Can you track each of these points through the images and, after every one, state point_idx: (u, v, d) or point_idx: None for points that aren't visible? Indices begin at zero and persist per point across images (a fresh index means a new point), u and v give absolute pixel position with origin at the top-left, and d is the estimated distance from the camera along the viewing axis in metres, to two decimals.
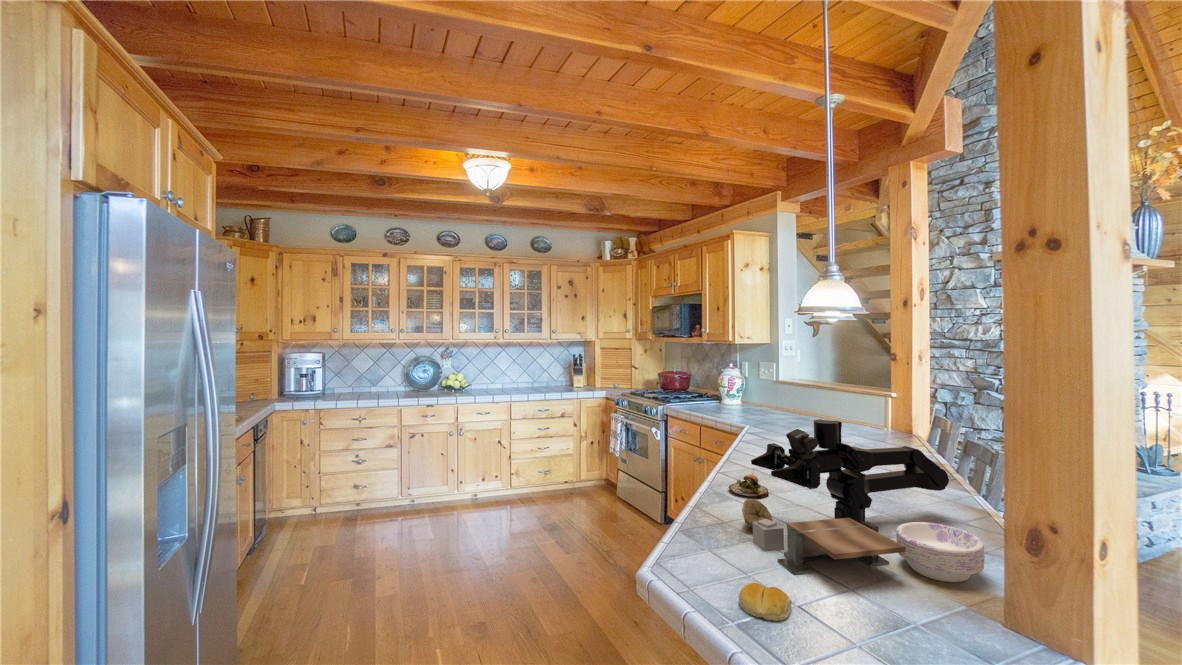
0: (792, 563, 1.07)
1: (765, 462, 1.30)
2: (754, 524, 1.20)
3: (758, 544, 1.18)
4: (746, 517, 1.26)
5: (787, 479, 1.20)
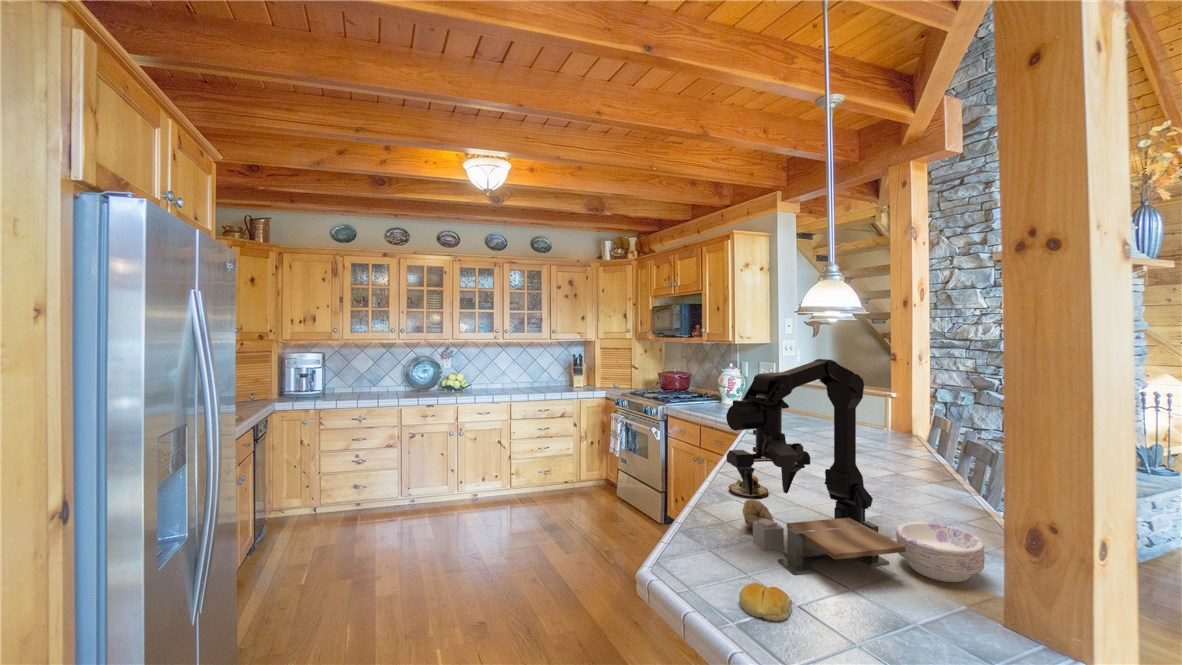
0: (792, 563, 1.07)
1: None
2: (754, 524, 1.20)
3: (758, 544, 1.18)
4: (747, 517, 1.25)
5: None
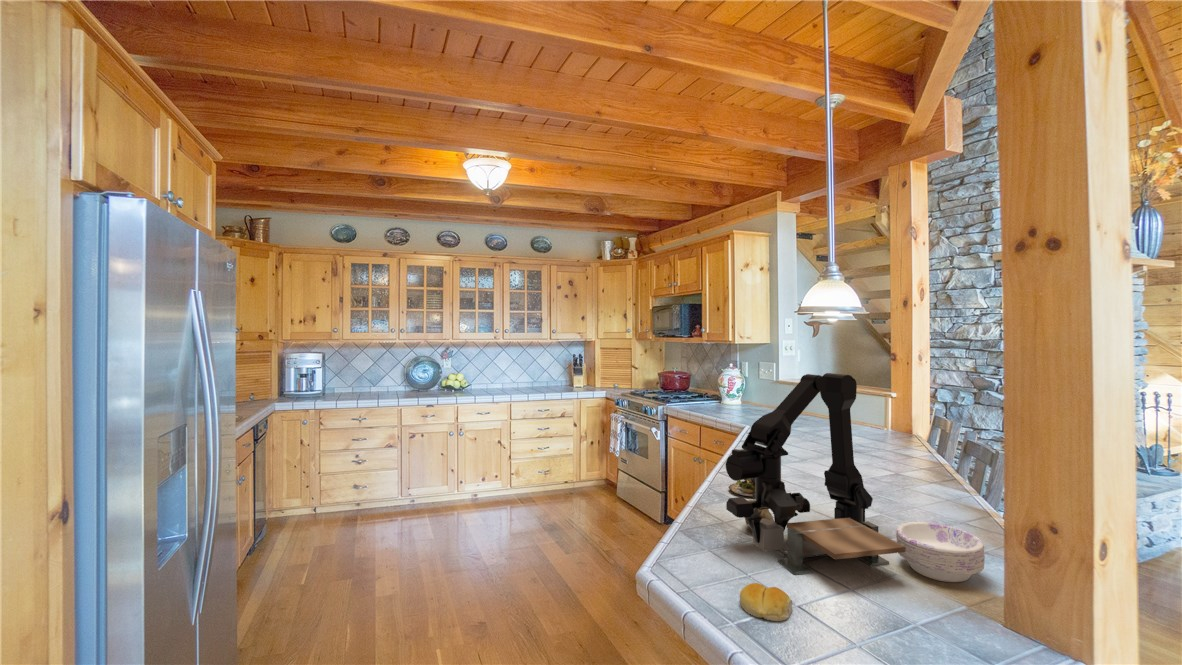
0: (792, 563, 1.07)
1: None
2: None
3: (758, 544, 1.18)
4: None
5: None
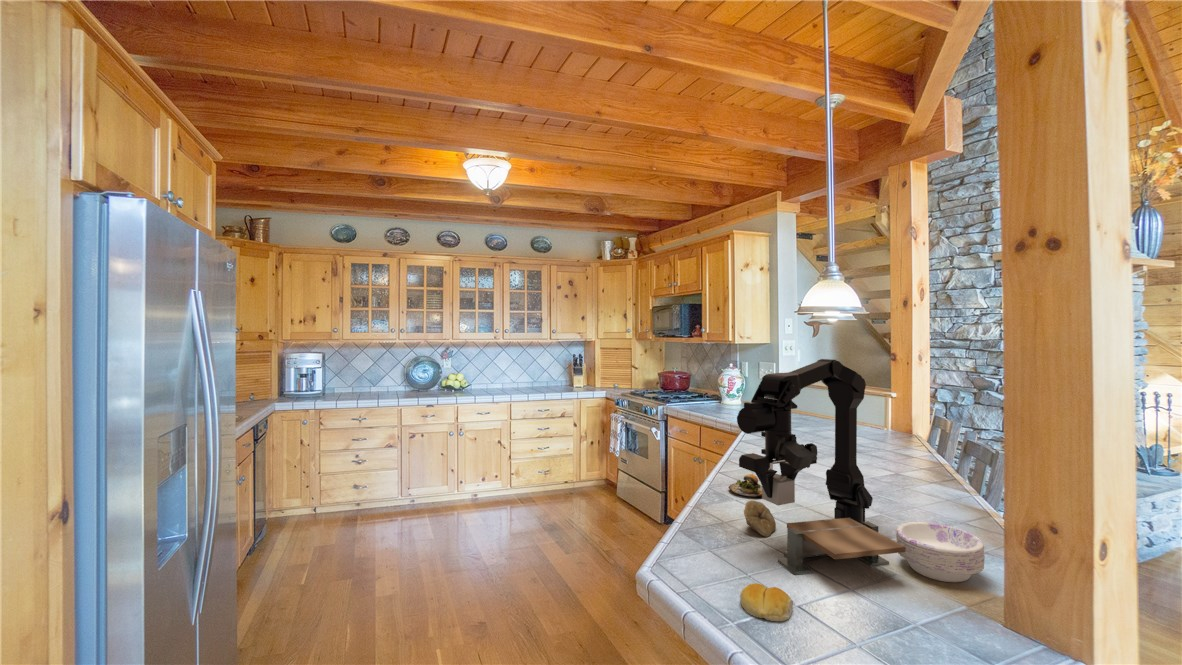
0: (792, 563, 1.07)
1: None
2: None
3: (770, 499, 1.16)
4: (748, 519, 1.25)
5: None
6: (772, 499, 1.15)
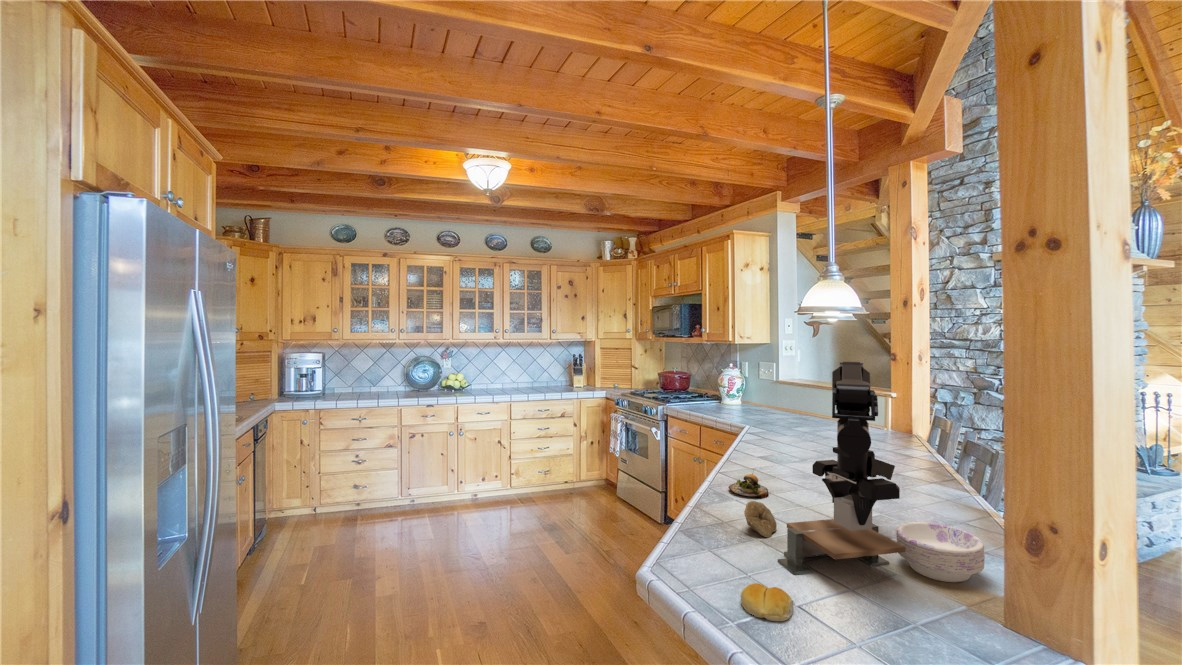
0: (792, 563, 1.07)
1: None
2: (853, 507, 1.01)
3: (862, 526, 1.01)
4: (748, 519, 1.24)
5: None
6: (864, 525, 1.02)
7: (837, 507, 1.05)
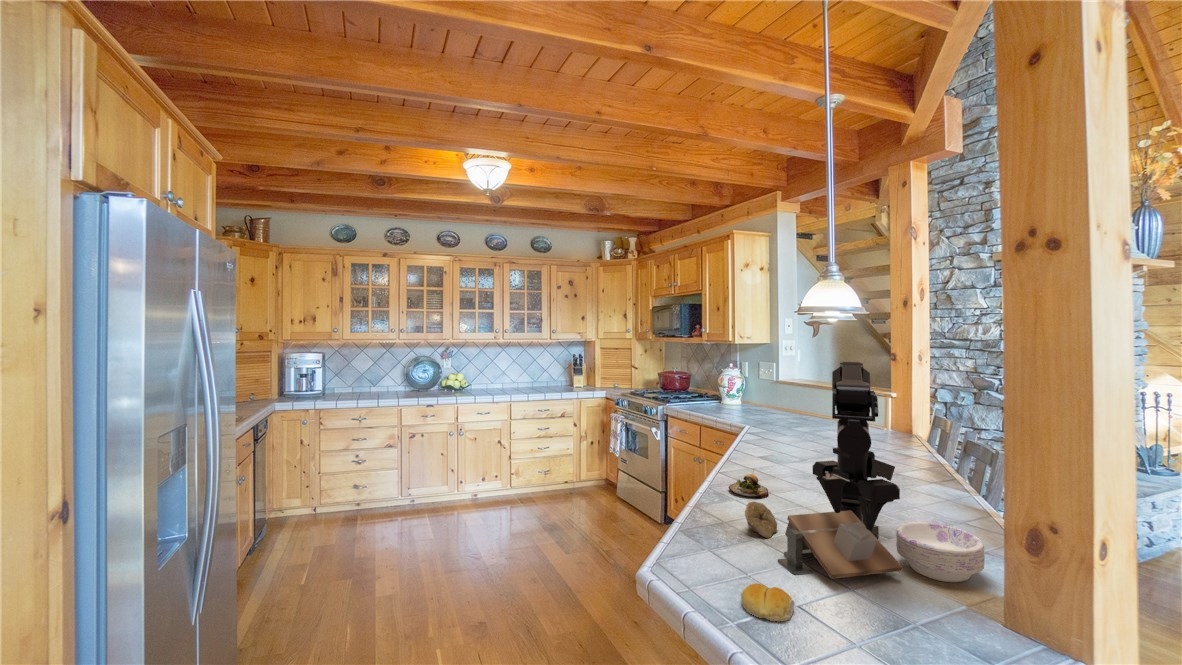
0: (792, 563, 1.07)
1: None
2: (858, 543, 1.00)
3: (861, 557, 1.02)
4: (749, 520, 1.24)
5: None
6: (864, 556, 1.02)
7: (841, 534, 1.04)
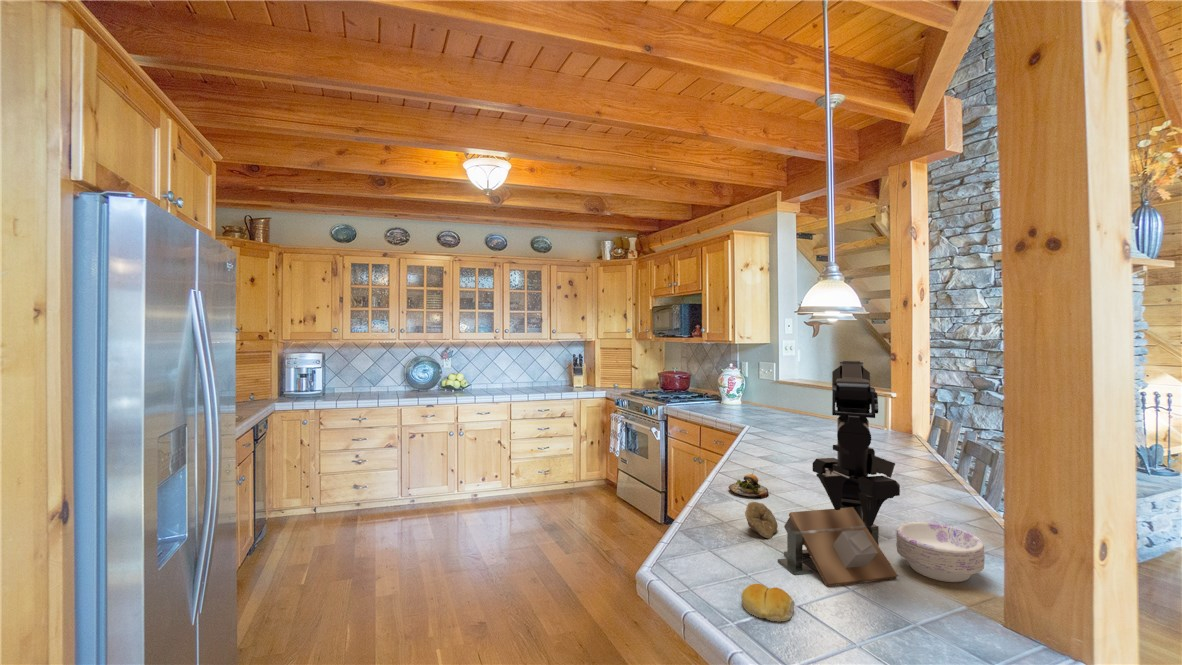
0: (792, 563, 1.07)
1: None
2: (858, 555, 1.00)
3: (858, 565, 1.02)
4: (749, 520, 1.24)
5: None
6: (861, 564, 1.02)
7: (841, 541, 1.03)
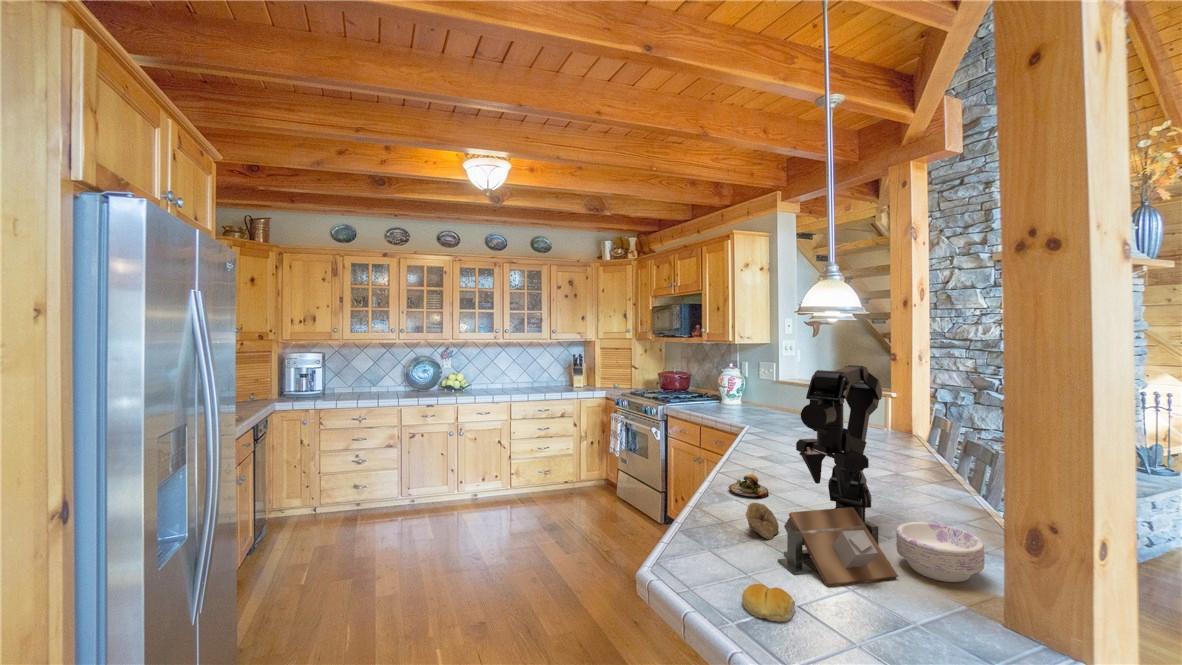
0: (792, 563, 1.07)
1: None
2: (858, 555, 1.00)
3: (858, 565, 1.02)
4: (750, 521, 1.23)
5: None
6: (861, 564, 1.02)
7: (841, 541, 1.03)
